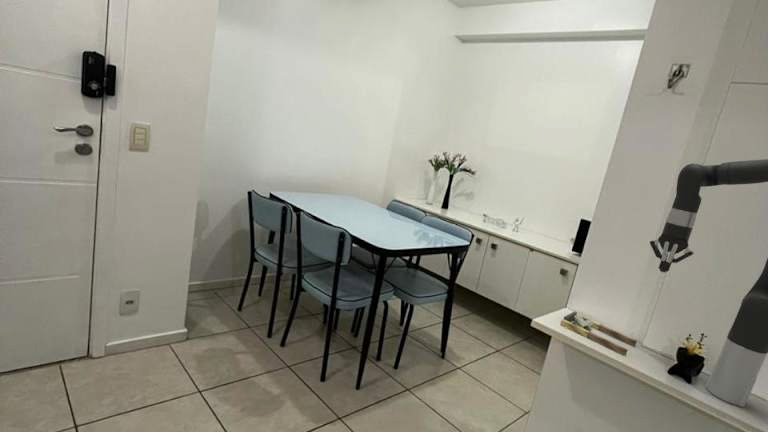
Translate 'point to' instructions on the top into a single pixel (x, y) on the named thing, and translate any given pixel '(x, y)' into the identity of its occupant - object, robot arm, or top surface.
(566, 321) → the rail
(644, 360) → the top surface
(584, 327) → the pipe fitting
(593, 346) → the top surface
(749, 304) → the robot arm
